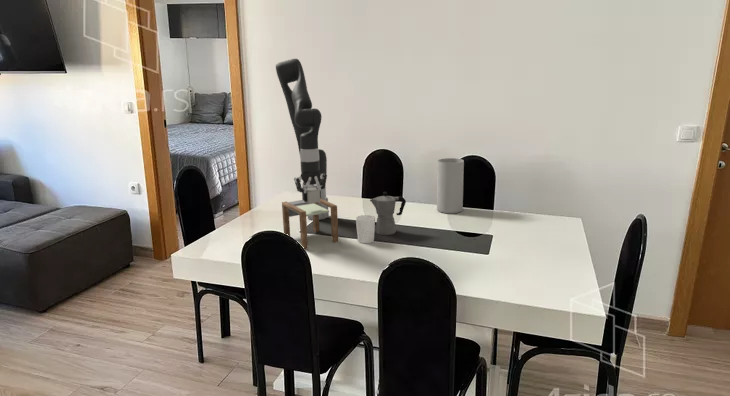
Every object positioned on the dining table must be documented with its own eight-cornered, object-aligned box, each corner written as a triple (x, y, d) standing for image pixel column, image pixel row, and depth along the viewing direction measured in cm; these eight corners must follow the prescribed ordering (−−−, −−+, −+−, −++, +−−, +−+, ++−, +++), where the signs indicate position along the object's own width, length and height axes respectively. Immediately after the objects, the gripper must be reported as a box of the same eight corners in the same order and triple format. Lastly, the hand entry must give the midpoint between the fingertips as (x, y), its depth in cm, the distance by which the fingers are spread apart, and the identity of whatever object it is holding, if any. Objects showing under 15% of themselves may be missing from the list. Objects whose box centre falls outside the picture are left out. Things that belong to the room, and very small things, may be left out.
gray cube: (314, 199, 213) (314, 187, 212) (320, 201, 209) (319, 189, 208) (303, 201, 210) (303, 189, 209) (309, 203, 206) (308, 191, 205)
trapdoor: (284, 214, 222) (283, 203, 221) (308, 209, 228) (307, 198, 227) (304, 225, 206) (304, 213, 205) (329, 220, 212) (329, 208, 210)
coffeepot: (371, 236, 219) (370, 195, 215) (370, 229, 228) (369, 189, 224) (407, 234, 220) (406, 193, 215) (404, 227, 229) (404, 188, 224)
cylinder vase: (466, 209, 256) (467, 159, 250) (456, 215, 246) (457, 163, 240) (443, 205, 263) (443, 157, 256) (432, 211, 252) (433, 161, 246)
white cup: (377, 238, 216) (377, 215, 214) (372, 244, 209) (371, 221, 206) (360, 236, 219) (359, 214, 216) (353, 242, 211) (353, 219, 209)
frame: (317, 230, 229) (315, 196, 225) (338, 241, 213) (337, 205, 209) (284, 237, 221) (281, 202, 217) (303, 249, 205) (301, 212, 201)
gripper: (321, 156, 212) (323, 196, 216) (289, 160, 205) (291, 201, 209) (330, 158, 206) (331, 199, 210) (297, 162, 199) (299, 205, 203)
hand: (311, 200), depth 210 cm, fingers closed on gray cube, 5 cm apart
